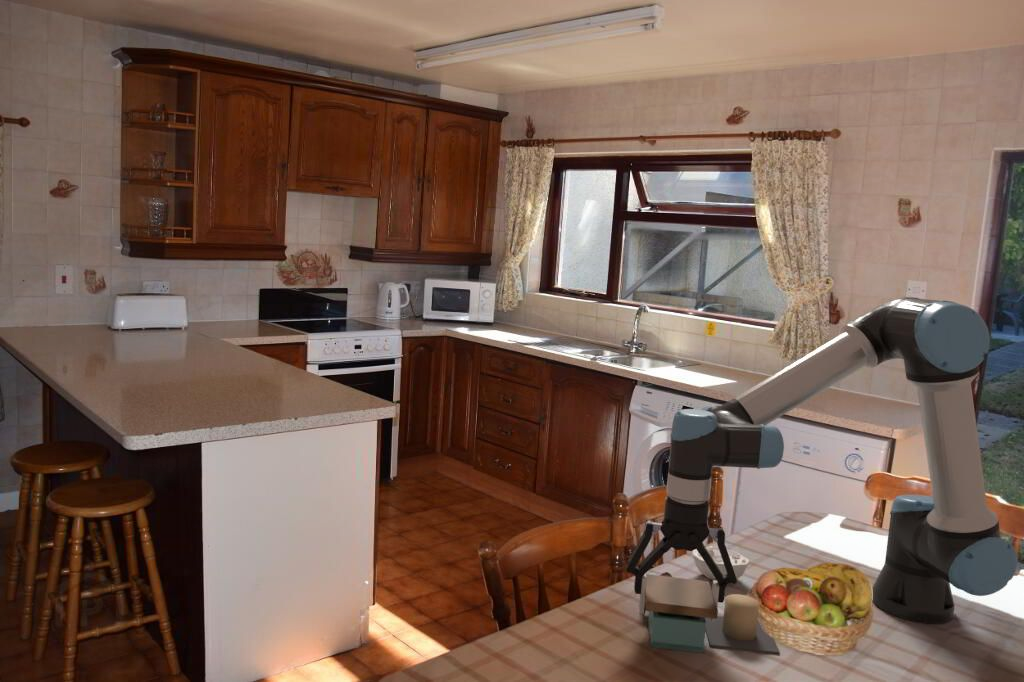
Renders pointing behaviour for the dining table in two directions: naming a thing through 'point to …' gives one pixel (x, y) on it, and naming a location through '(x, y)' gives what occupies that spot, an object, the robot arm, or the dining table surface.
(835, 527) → the dining table surface
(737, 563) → the cell model
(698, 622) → the teal open box
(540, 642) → the dining table surface
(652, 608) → the lid
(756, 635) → the mat stand
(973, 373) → the robot arm
